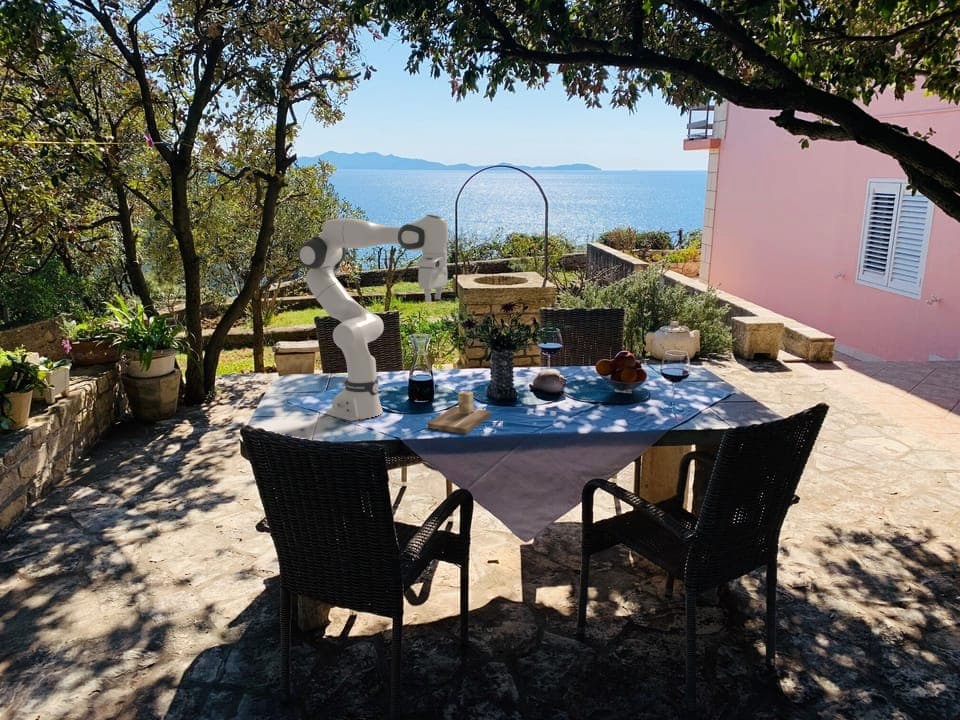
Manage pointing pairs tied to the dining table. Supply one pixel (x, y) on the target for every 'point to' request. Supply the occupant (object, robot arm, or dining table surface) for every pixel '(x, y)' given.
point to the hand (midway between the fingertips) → (432, 300)
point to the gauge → (465, 402)
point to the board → (459, 420)
